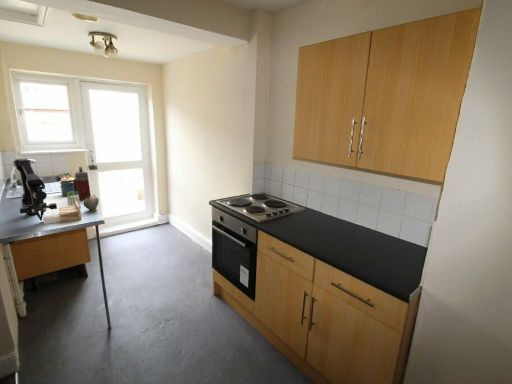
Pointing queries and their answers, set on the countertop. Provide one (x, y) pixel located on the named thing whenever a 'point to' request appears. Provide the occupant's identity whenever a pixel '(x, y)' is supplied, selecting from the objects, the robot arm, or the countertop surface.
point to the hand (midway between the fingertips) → (41, 220)
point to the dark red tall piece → (82, 184)
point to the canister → (67, 186)
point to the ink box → (72, 199)
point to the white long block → (51, 218)
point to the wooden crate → (70, 212)
